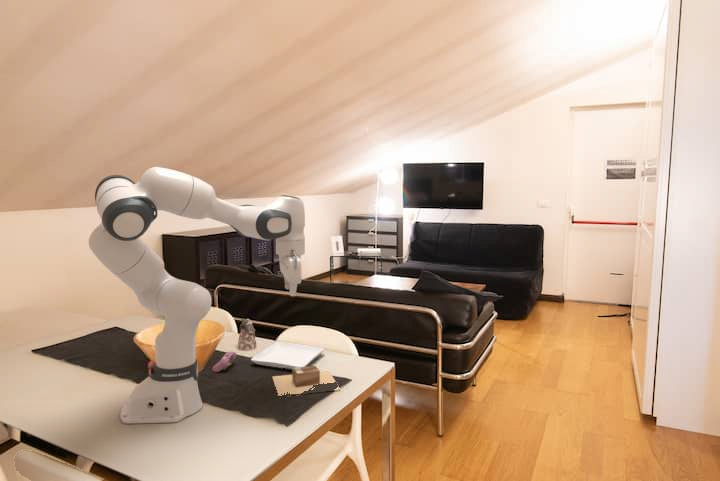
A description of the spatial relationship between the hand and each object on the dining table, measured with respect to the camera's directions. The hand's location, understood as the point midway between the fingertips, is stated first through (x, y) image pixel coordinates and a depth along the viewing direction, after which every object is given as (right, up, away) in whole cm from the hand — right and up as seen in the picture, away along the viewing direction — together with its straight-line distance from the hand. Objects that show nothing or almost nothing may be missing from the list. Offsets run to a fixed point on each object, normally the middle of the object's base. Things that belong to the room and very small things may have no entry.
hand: (290, 292), depth 161 cm
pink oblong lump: (-27, -30, +25) cm, 47 cm away
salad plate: (-5, -30, +33) cm, 45 cm away
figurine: (-23, -27, +46) cm, 58 cm away
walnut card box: (+4, -31, +12) cm, 34 cm away
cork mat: (+3, -32, +12) cm, 34 cm away
